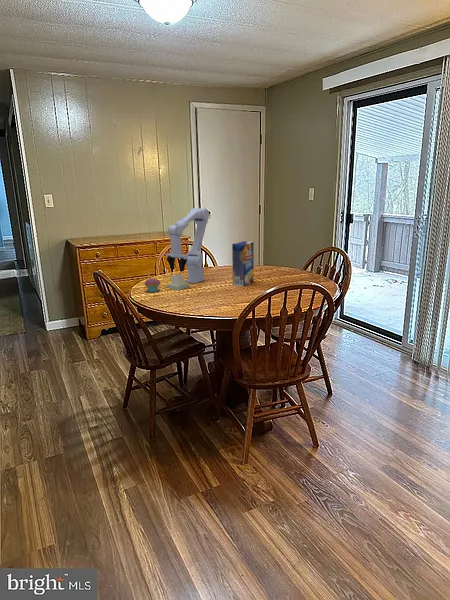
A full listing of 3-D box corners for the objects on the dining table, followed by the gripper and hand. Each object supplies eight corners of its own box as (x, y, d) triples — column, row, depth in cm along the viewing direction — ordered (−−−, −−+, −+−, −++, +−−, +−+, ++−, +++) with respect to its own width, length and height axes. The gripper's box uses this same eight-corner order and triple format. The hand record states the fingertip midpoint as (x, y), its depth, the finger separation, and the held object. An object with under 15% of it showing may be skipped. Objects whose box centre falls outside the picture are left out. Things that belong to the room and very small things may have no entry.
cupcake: (145, 293, 222) (144, 272, 219) (144, 289, 230) (142, 269, 227) (161, 292, 224) (160, 271, 221) (159, 288, 232) (158, 268, 229)
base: (178, 284, 240) (178, 281, 240) (189, 286, 235) (189, 283, 234) (167, 287, 234) (166, 284, 233) (178, 290, 228) (178, 286, 228)
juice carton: (244, 286, 233) (243, 244, 226) (232, 285, 237) (232, 244, 230) (253, 282, 243) (253, 241, 236) (242, 280, 246) (242, 241, 240)
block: (177, 282, 237) (177, 274, 236) (184, 283, 234) (183, 275, 233) (171, 284, 233) (171, 275, 232) (178, 285, 230) (177, 276, 229)
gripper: (161, 246, 229) (163, 270, 233) (180, 248, 220) (181, 273, 224) (170, 245, 234) (172, 268, 238) (189, 247, 226) (190, 271, 229)
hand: (177, 270), depth 231 cm, fingers open, 7 cm apart
